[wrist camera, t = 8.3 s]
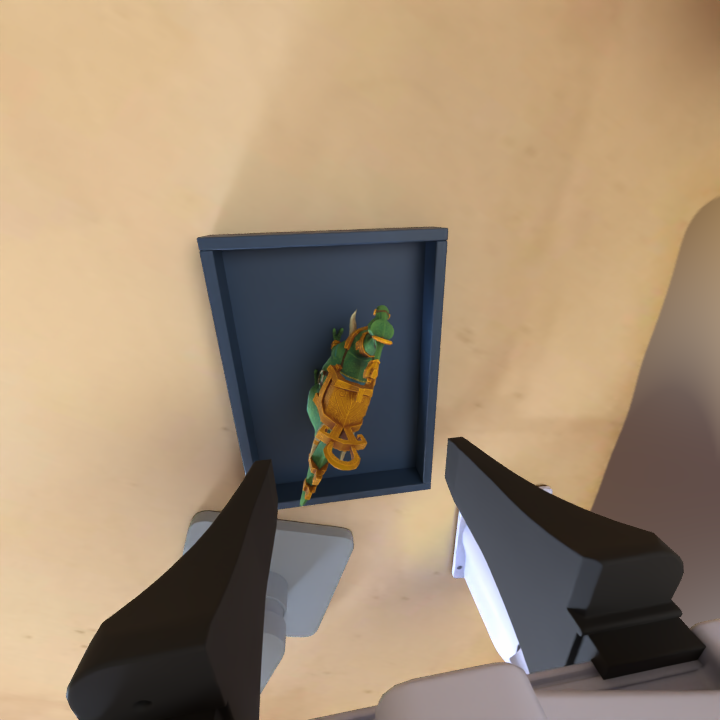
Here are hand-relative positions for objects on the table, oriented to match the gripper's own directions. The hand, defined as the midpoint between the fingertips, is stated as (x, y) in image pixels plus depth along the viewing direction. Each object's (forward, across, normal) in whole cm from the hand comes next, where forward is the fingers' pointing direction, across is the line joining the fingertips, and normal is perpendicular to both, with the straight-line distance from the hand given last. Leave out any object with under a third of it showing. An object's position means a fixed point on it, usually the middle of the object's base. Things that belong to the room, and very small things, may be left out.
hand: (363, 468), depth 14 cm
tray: (+9, 0, 0) cm, 9 cm away
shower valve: (+9, +8, +19) cm, 23 cm away
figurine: (+9, +1, 0) cm, 9 cm away
